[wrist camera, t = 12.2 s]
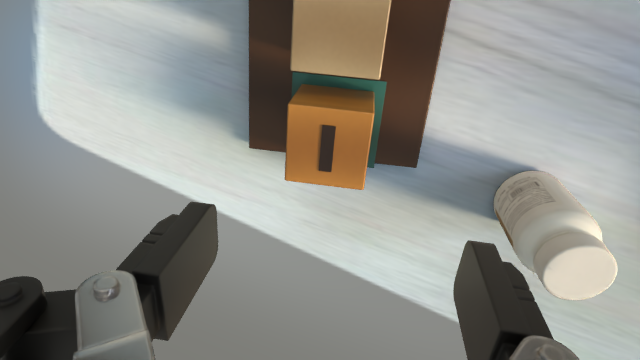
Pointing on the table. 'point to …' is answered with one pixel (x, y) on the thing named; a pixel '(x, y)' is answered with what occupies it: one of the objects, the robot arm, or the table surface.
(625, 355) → the table surface
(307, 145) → the orange slotted cube
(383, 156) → the board
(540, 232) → the pill bottle
